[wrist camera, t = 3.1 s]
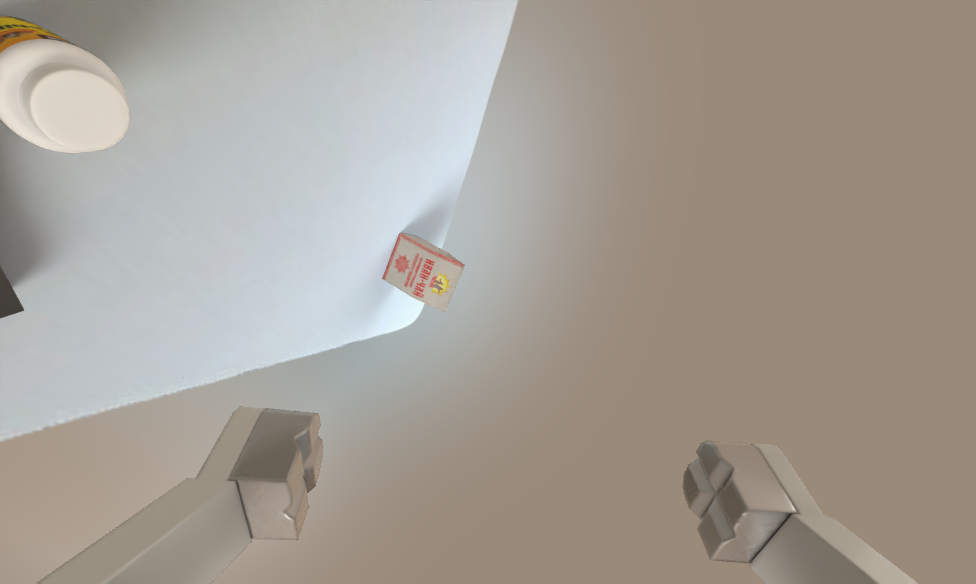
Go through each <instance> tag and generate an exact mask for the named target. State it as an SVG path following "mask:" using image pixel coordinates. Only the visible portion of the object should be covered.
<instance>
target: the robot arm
mask: <svg viewBox="0 0 976 584" xmlns="http://www.w3.org/2000/svg"><path fill="white" fill-rule="evenodd" d="M320 425H321V424H320V418H319V414H318V413H310V412H300V411H289V410H279V409H268V408H254V407H244V406H240V407H239V408H238V409H237V410H236V411H234V412H233V414H232V416H231V417H230V419H229V421H228V423H227V424H226V426H225V428H224V429H223V431H222V433H221V435H220V437H219V438H218V440H217V442H216V443H215V445H214V447H213V449H212V450H211V452H210V454H209V456H208V457H207V459H206V461H205V463H204V465H203V466H202V468H201V470H200V471H199V473H198V475H197V477H196V478H187V479H185V480H184V481H182V482H181V483H179V484H178V485H177V486H175V487H174V488H173V489H171V490H169V491H168V492H167V493H165V494H164V495H162V496H161V497H159V498H158V499H156V500H155V501H154V502H152V503H151V504H149V505H148V506H146V507H145V508H144V509H142V510H141V511H139V512H138V513H136V514H135V515H133V516H132V517H131V518H129V519H128V520H126V521H125V522H123V523H122V524H121V525H119V526H118V527H116V528H115V529H113V530H112V531H110V532H109V533H108V534H106V535H105V536H103V537H102V538H101V539H99V540H98V541H96V542H95V543H93V544H92V545H91V546H89V547H88V548H86V549H85V550H83V551H82V552H80V553H79V554H78V555H76V556H75V557H73V558H72V559H70V560H69V561H67V562H66V563H64V564H63V565H62V566H60V567H59V568H57V569H56V570H55V571H53V572H52V573H50V574H49V575H47V576H46V577H44V578H43V579H41V580H40V581H39V582H37V584H211V583H212V582H213V581H214V580H215V579H216V578H217V577H218V576H219V575H220V574H221V573H222V572H223V571H224V570H225V569H226V568H227V567H228V566H229V565H230V564H231V563H232V562H233V561H234V560H235V559H236V558H237V557H238V556H239V555H240V554H241V553H242V552H243V551H244V549H245V548H246V547H247V546H248V545H249V544H250V543H251V542H252V540H251V539H278V540H298V538H299V535H300V532H301V529H302V526H303V523H304V520H305V517H306V514H307V510H308V508H309V506H308V498H307V493H308V492H309V491H310V490H312V489H313V488H314V487H315V486H316V483H317V479H318V476H319V473H320V467H321V462H322V453H323V445H322V439H321V438H320V437H319V436H318V435H317V434H318V431H319V428H320ZM697 454H698V456H699V459H697V460H695V461H694V462H692V463H690V464H689V465H688V467H687V469H686V471H685V473H684V477H683V490H684V495H685V499H686V501H687V504H688V507H689V509H690V510H692V512H694V513H695V514H696V515H697V516H698V517H699V518H700V521H699V524H698V528H697V529H698V531H699V534H700V536H701V539H702V541H703V544H704V546H705V548H706V551H707V553H708V556H709V558H710V560H714V561H727V562H740V563H750V565H749V566H750V567H751V568H752V569H753V571H754V572H755V573H756V574H757V575H758V576H759V577H760V578H761V579H762V580H763V582H764V583H765V584H918V583H917V582H915V581H914V580H913V579H912V578H910V577H909V576H908V575H906V574H905V573H904V572H902V571H901V570H900V569H899V568H897V567H896V566H895V565H893V564H892V563H891V562H890V561H888V560H887V559H886V558H884V557H883V556H882V555H880V554H879V553H878V552H877V551H875V550H874V549H873V548H871V547H870V546H868V545H867V544H866V543H865V542H864V541H862V540H861V539H860V538H858V537H857V536H856V535H855V534H853V533H852V532H851V531H849V530H848V529H847V528H845V527H844V526H843V525H841V524H840V523H839V522H838V521H836V520H835V519H833V518H832V517H831V516H824V515H823V514H822V512H821V511H820V509H819V508H818V506H817V504H816V503H815V501H814V500H813V498H812V497H811V495H810V494H809V492H808V491H807V489H806V488H805V486H804V485H803V483H802V482H801V480H800V479H799V477H798V476H797V474H796V472H795V471H794V469H793V468H792V466H791V465H790V463H789V462H788V460H787V459H786V457H785V456H784V454H783V453H782V451H781V450H780V449H779V448H777V447H776V446H775V445H764V444H749V443H739V442H722V441H705V442H703V443H701V445H700V446H699V448H698V450H697Z"/></svg>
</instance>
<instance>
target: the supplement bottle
mask: <svg viewBox="0 0 976 584" xmlns="http://www.w3.org/2000/svg"><path fill="white" fill-rule="evenodd" d="M0 120H1V121H2V122H3V123H4V124H5V125H6V126H8V127H9V128H10V129H11V130H12V131H14V132H15V133H16V134H18V135H19V136H21V137H22V138H24V139H25V140H27V141H29V142H31V143H33V144H35V145H37V146H40V147H42V148H46V149H49V150H53V151H57V152H65V153H82V152H88V151H98V150H102V149H106V148H108V147H111V146H112V145H114V144H116V143H117V142H118V141H120V140H121V138H122V137H123V136H124V135H125V133H126V131H127V129H128V126H129V122H130V113H129V108H128V102H127V97H126V93H125V91H124V88H123V86H122V84H121V82H120V81H119V79H118V78H117V76H116V75H115V74H114V73H113V71H112V70H111V69H110V68H109V67H108V66H107V65H106V64H105V63H104V62H102V61H101V60H100V59H99V58H97V57H96V56H94V55H93V54H91V53H89V52H88V51H86V50H84V49H82V48H80V47H78V46H77V45H74V44H72V43H70V42H69V41H67V40H65V39H63V38H61V37H59V36H57V35H55V34H53V33H51V32H49V31H48V30H46V29H44V28H42V27H40V26H38V25H36V24H33V23H31V22H29V21H26V20H23V19H20V18H16V17H11V16H4V15H0Z"/></svg>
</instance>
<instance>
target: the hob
mask: <svg viewBox="0 0 976 584" xmlns="http://www.w3.org/2000/svg"><path fill="white" fill-rule="evenodd" d="M21 311H24V308H23V306H22V305H21V303H20V301H19V299H18V297H17V296H16V294H15V292H14V290H13V288H12V286H11V285H10V283H9V281H8V279H7V277H6V275H5V274H4V272H3V270H2V268H1V266H0V318H3V317H6V316H9V315H12V314H15V313H18V312H21Z"/></svg>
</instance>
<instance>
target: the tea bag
mask: <svg viewBox="0 0 976 584" xmlns="http://www.w3.org/2000/svg"><path fill="white" fill-rule="evenodd" d="M464 266H465V265H464V264H462V263H461V262H460V261H458V260H457V259H456V258H454V257H453V256H452V255H450V254H449V253H447V252H445V251H444V250H442V249H440V248H438V247H436V246H434V245H432V244H431V243H429V242H427V241H425V240H423V239H421V238H419V237H418V236H413V235H408V234H403V233H400V234H399V237H398V240H397V242H396V245H395V247H394V250H393V253H392V255H391V258H390V260H389V263H388V266H387V268H386V271H385V273H384V276H383V279H384V280H385V281H387V282H389V283H390V284H392V285H393V286H395V287H397V288H398V289H400V290H401V291H403V292H405V293H406V294H408V295H410V296H411V297H413V298H415V299H417V300H419V301H421V302H424V303H426V304H428V305H431V306H433V307H435V308H437V309H439V310H441V311H443V312H444V311H446V309H447V307H448V304H449V302H450V299H451V297H452V295H453V292H454V290H455V287H456V285H457V283H458V280H459V278H460V276H461V273H462V271H463V268H464Z"/></svg>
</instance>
